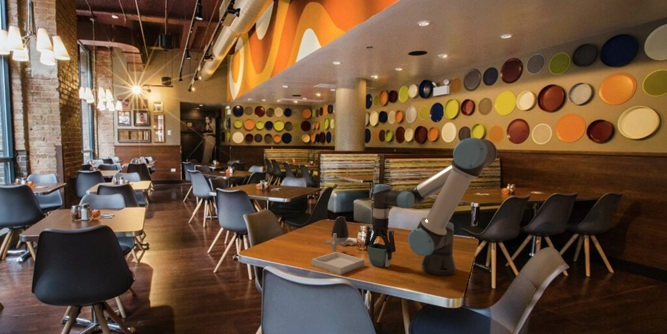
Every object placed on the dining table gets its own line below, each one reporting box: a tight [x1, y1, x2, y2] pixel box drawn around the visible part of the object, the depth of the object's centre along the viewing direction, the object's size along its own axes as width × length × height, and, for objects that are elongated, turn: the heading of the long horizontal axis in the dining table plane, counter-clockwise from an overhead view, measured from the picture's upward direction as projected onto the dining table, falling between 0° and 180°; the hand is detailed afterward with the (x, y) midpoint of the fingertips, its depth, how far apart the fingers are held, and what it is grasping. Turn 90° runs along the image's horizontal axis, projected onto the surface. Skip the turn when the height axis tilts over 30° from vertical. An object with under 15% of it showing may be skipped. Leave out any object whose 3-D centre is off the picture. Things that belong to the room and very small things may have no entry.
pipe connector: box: [324, 233, 345, 253], centre depth 191 cm, size 10×10×10 cm
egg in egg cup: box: [330, 215, 350, 243], centre depth 213 cm, size 10×10×15 cm
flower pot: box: [367, 242, 387, 268], centre depth 173 cm, size 9×9×9 cm
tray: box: [311, 251, 365, 276], centre depth 170 cm, size 18×18×3 cm
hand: (379, 263), depth 173 cm, fingers closed on flower pot, 9 cm apart
